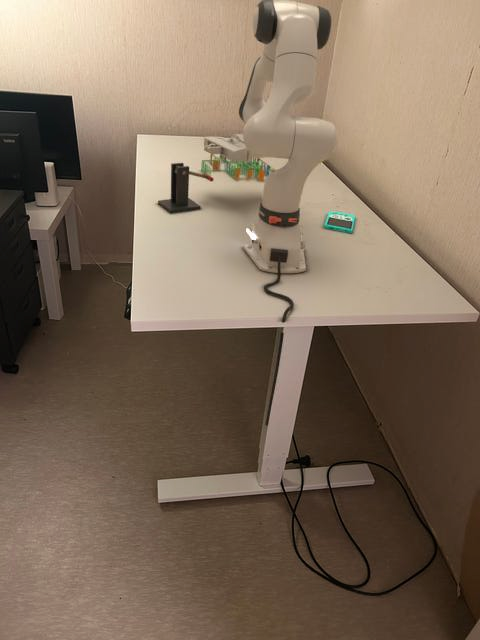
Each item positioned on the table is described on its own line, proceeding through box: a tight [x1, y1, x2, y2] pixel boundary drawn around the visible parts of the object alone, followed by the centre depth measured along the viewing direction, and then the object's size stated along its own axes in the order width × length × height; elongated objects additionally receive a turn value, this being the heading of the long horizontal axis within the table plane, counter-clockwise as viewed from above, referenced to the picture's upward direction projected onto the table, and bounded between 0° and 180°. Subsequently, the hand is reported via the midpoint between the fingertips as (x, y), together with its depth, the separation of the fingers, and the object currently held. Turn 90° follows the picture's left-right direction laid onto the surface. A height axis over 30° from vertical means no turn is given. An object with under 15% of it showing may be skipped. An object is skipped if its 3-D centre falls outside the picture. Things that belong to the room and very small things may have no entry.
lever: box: [174, 165, 214, 182], centre depth 163 cm, size 14×5×2 cm, turn 125°
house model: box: [200, 153, 276, 182], centre depth 211 cm, size 35×30×5 cm
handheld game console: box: [323, 211, 356, 234], centre depth 169 cm, size 10×16×1 cm, turn 164°
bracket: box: [157, 162, 201, 214], centre depth 163 cm, size 12×10×15 cm
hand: (206, 149), depth 161 cm, fingers closed
